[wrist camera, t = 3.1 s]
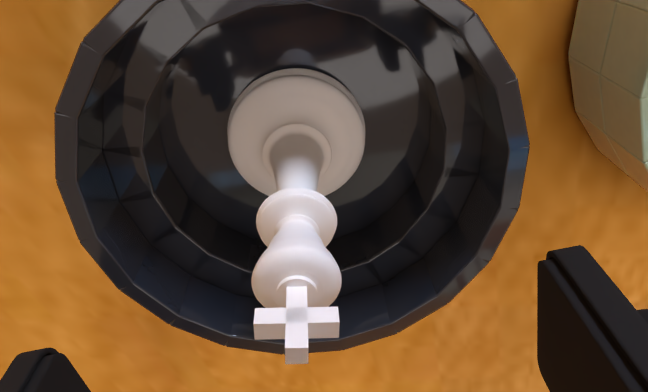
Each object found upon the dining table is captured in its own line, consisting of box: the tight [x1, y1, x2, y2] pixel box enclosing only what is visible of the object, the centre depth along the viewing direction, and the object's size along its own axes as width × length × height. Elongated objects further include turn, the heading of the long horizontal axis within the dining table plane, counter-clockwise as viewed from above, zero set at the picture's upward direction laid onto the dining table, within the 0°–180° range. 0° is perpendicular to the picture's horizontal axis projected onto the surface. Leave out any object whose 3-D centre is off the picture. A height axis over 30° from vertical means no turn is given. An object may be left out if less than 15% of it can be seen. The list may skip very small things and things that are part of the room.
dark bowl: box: [54, 0, 530, 355], centre depth 16 cm, size 13×13×4 cm
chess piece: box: [227, 68, 365, 364], centre depth 14 cm, size 5×5×10 cm
